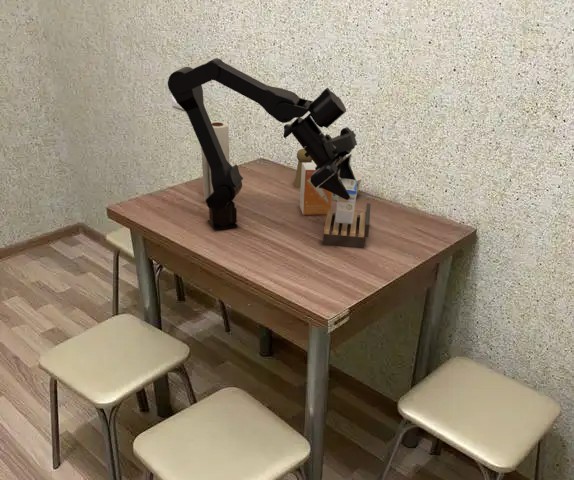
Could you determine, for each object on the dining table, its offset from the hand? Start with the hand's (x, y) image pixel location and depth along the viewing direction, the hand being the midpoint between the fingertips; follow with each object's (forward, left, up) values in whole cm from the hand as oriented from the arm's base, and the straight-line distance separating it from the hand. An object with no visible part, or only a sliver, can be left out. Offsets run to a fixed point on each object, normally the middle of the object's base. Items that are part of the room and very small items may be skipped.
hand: (352, 192), depth 141 cm
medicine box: (-1, +1, -7) cm, 7 cm away
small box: (+1, +21, -13) cm, 25 cm away
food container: (+14, +29, -13) cm, 35 cm away
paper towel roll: (-22, +39, -13) cm, 47 cm away
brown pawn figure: (+7, +41, -13) cm, 44 cm away
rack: (+1, +4, -13) cm, 14 cm away
